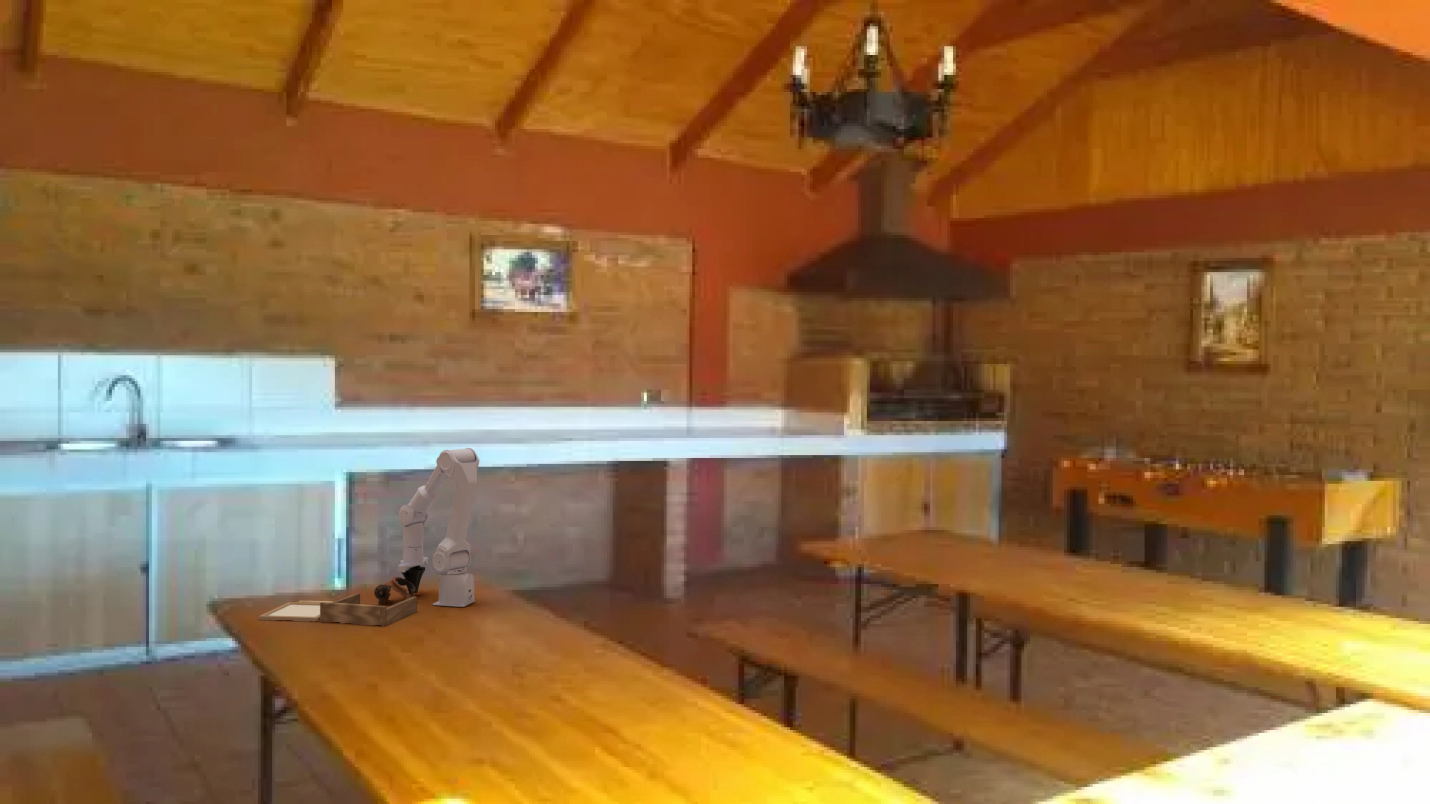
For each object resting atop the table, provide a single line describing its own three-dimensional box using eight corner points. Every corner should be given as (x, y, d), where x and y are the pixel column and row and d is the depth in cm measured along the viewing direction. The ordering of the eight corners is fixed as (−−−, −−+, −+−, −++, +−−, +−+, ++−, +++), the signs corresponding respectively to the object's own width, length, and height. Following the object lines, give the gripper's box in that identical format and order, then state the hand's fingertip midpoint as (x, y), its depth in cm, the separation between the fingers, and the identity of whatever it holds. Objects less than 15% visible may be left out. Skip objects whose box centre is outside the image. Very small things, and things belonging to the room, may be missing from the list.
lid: (348, 605, 314) (348, 601, 314) (317, 621, 294) (317, 618, 294) (293, 603, 315) (293, 600, 315) (258, 620, 295) (258, 616, 295)
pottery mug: (392, 599, 324) (406, 575, 323) (410, 618, 319) (425, 594, 318) (361, 596, 314) (375, 571, 313) (379, 615, 309) (394, 590, 308)
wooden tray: (417, 611, 307) (417, 593, 307) (384, 626, 290) (384, 607, 290) (356, 607, 311) (356, 589, 311) (320, 621, 294) (320, 602, 294)
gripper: (412, 541, 334) (412, 586, 334) (388, 549, 319) (388, 596, 320) (434, 542, 332) (434, 588, 332) (410, 550, 318) (410, 598, 318)
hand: (413, 592), depth 326 cm, fingers closed
